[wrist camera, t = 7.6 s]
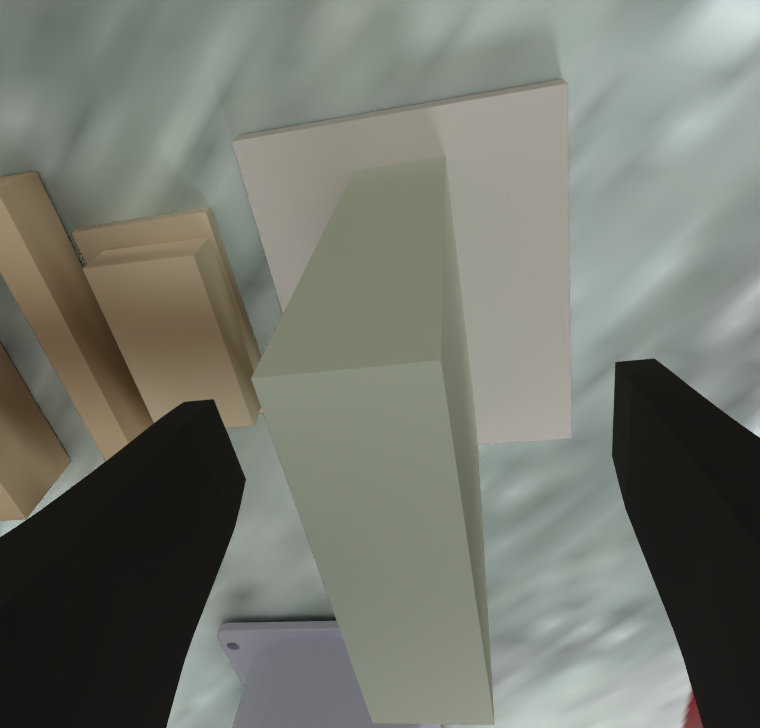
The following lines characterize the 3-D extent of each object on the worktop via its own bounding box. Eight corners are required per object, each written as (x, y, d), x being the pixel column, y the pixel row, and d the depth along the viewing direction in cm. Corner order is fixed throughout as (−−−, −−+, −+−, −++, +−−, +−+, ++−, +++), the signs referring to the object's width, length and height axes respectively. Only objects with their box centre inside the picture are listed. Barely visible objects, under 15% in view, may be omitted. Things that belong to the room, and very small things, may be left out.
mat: (567, 424, 17) (571, 438, 16) (328, 442, 18) (325, 455, 18) (562, 79, 12) (567, 83, 12) (239, 135, 13) (231, 141, 13)
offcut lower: (283, 389, 18) (274, 411, 17) (176, 399, 19) (161, 421, 18) (220, 196, 15) (205, 211, 14) (93, 217, 16) (70, 232, 15)
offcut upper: (263, 401, 17) (253, 426, 16) (173, 408, 18) (158, 432, 17) (209, 237, 14) (193, 255, 14) (104, 250, 15) (82, 268, 14)
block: (476, 417, 16) (494, 724, 10) (403, 422, 17) (372, 723, 10) (445, 156, 13) (440, 359, 6) (353, 171, 13) (250, 379, 6)
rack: (171, 454, 19) (137, 513, 17) (44, 463, 20) (-4, 520, 18) (36, 170, 14) (-35, 204, 12) (-123, 198, 15) (-215, 233, 13)
